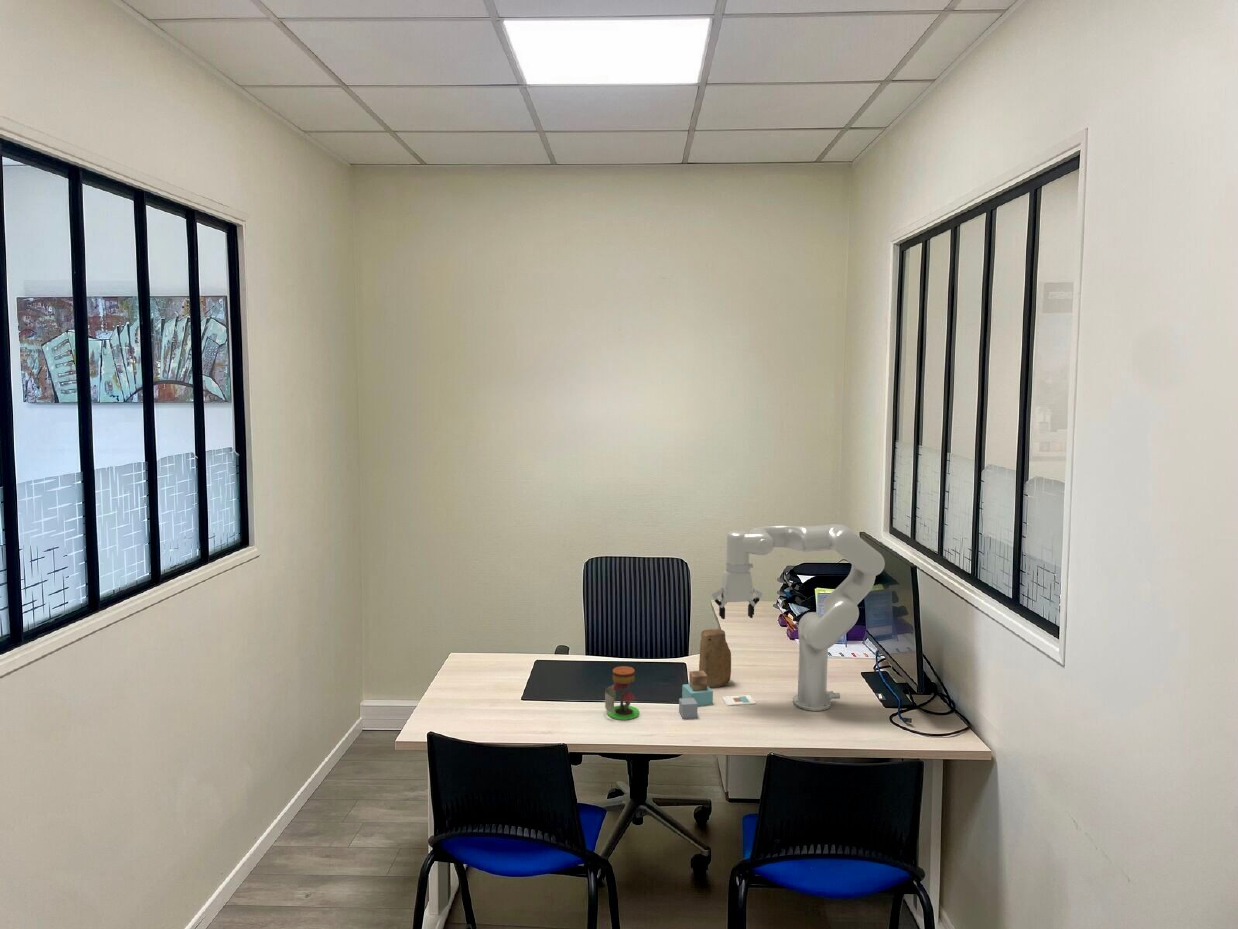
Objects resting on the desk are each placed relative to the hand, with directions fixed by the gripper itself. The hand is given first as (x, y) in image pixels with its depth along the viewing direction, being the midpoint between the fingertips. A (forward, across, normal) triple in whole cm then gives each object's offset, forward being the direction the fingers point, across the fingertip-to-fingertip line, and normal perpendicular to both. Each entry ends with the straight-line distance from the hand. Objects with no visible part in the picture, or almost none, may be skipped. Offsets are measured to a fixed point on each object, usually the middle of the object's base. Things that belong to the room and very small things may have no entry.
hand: (736, 617), depth 280 cm
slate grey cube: (+30, +18, +7) cm, 36 cm away
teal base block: (+31, +12, -4) cm, 33 cm away
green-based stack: (+31, +39, +2) cm, 50 cm away
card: (+30, -2, -2) cm, 30 cm away
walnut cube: (+26, +12, -4) cm, 28 cm away
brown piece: (+31, +2, -18) cm, 35 cm away
